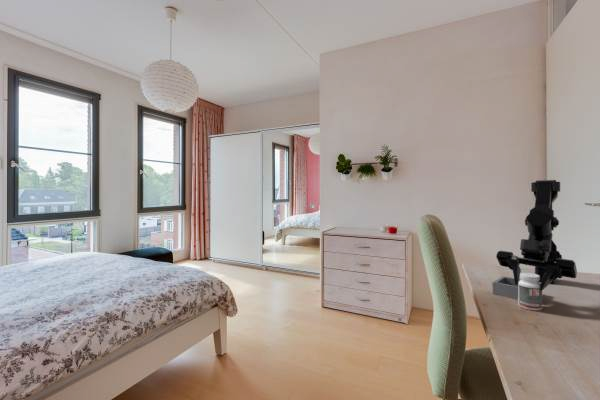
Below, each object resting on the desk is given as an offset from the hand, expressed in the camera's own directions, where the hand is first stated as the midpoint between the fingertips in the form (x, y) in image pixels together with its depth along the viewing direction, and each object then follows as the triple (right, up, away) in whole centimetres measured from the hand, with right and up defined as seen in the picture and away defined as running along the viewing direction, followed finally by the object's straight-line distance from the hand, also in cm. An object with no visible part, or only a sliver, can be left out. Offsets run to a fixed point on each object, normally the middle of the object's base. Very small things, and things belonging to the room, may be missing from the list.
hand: (528, 286), depth 84 cm
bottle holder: (+5, -6, +11) cm, 14 cm away
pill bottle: (+1, -7, +1) cm, 7 cm away
